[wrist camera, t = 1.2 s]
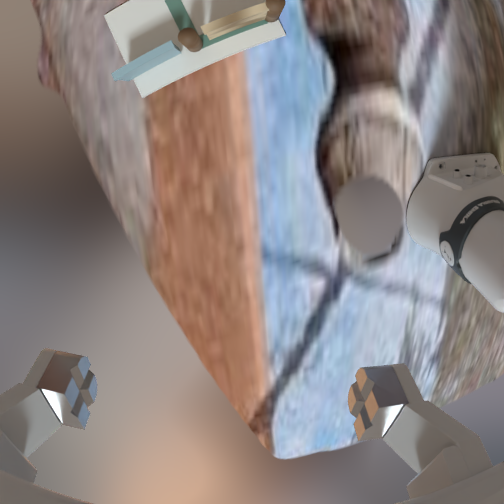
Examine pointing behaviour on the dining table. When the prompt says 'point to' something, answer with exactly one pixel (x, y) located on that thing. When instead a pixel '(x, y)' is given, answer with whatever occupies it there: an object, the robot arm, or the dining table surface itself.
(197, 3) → the card
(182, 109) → the dining table surface
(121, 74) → the light blue rectangular panel
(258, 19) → the pine fence section
